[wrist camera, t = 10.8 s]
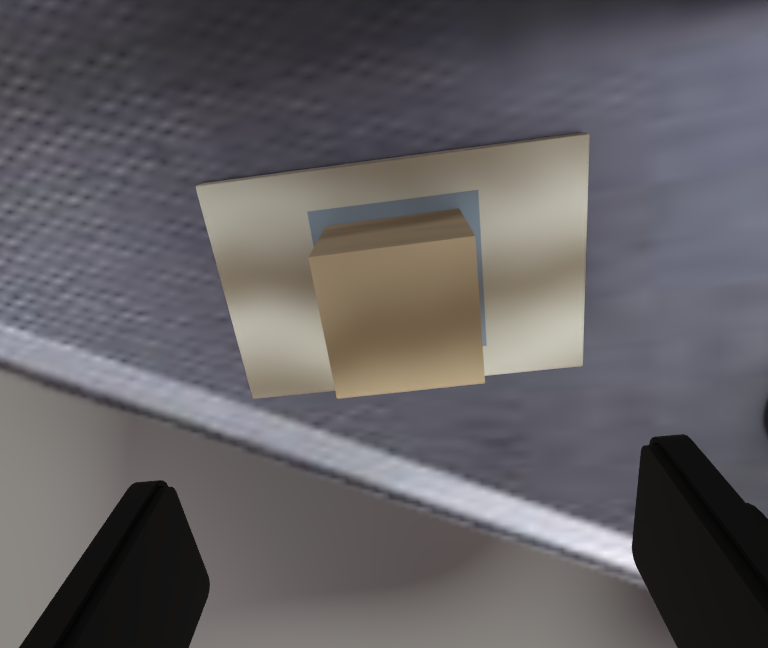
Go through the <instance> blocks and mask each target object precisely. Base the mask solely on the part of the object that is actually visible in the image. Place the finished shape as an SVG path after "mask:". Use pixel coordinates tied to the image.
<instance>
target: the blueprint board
mask: <svg viewBox="0 0 768 648" xmlns="http://www.w3.org/2000/svg"><path fill="white" fill-rule="evenodd" d="M589 136H590V134H587V133H575V134H567V135H560V136H552V137H545V138H537V139H530V140H522V141H515V142H507V143H500V144H492V145H485V146H477V147H470V148H462V149H455V150H447V151H440V152H432V153H425V154H417V155H410V156H402V157H395V158H387V159H380V160H372V161H365V162H357V163H350V164H342V165H335V166H327V167H320V168H312V169H305V170H297V171H290V172H282V173H275V174H267V175H260V176H252V177H245V178H237V179H230V180H222V181H215V182H207V183H202V184H200V185H197V186H195V187H196V191H197V195H198V198H199V202H200V206H201V209H202V213H203V217H204V220H205V224H206V228H207V231H208V235H209V239H210V242H211V246H212V250H213V253H214V257H215V261H216V264H217V268H218V272H219V275H220V279H221V283H222V287H223V290H224V294H225V298H226V301H227V305H228V309H229V312H230V316H231V320H232V323H233V327H234V331H235V334H236V338H237V342H238V345H239V349H240V353H241V356H242V360H243V364H244V367H245V371H246V375H247V378H248V382H249V386H250V389H251V393H252V397H253V399H256V398H266V397H276V396H286V395H296V394H306V393H316V392H326V391H335V386H334V382H333V377H332V372H331V367H330V362H329V357H328V352H327V347H326V342H325V337H324V332H323V328H322V323H321V318H320V313H319V308H318V303H317V298H316V293H315V288H314V283H313V279H312V274H311V269H310V264H309V259H308V257H309V255H310V253H311V252H312V250H313V248H314V246H315V245H316V243H317V241H318V239H319V237H320V236H321V234H322V232H323V230H324V229H325V227H326V226H330V225H337V224H345V223H352V222H360V221H368V220H375V219H383V218H390V217H398V216H405V215H413V214H420V213H428V212H435V211H443V210H450V209H458V208H459V209H460V210H461V212H462V214H463V216H464V217H465V219H466V221H467V222H468V224H469V226H470V228H471V229H472V231H473V233H474V235H475V240H476V255H477V270H478V285H479V300H480V314H481V329H482V344H483V359H484V374H485V376H486V375H496V374H506V373H516V372H526V371H536V370H546V369H556V368H566V367H576V366H583V334H584V301H585V268H586V235H587V202H588V169H589Z"/></svg>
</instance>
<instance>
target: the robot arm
mask: <svg viewBox="0 0 768 648" xmlns="http://www.w3.org/2000/svg"><path fill="white" fill-rule="evenodd" d="M632 553H633V557H634V561H635V564H636V566H637V569H638V570H639V572H640V574H641V576H642V578H643V580H644V582H645V584H646V586H647V588H648V590H649V592H650V594H651V596H652V598H653V600H654V602H655V604H656V606H657V608H658V610H659V612H660V614H661V616H662V618H663V620H664V622H665V624H666V626H667V628H668V629H669V632H670V634H671V636H672V637H673V640H674V642H675V643H676V646H677V647H678V648H768V519H767V518H766V517H765V516H764V514H763V513H762V512H761V511H759V510H758V509H757V508H756V507H755V506H753V505H751V504H749V503H745V502H744V501H743V499H742V498H741V497H740V496H739V495H738V494H737V492H736V491H735V490H734V489H733V488H732V487H731V485H730V484H729V483H728V482H727V481H726V480H725V478H724V477H723V476H722V475H721V474H720V472H719V471H718V470H717V469H716V468H715V467H714V465H713V464H712V463H711V462H710V461H709V460H708V458H707V457H706V456H705V455H704V454H703V453H702V451H701V450H700V449H699V448H698V447H697V446H696V444H695V443H694V442H693V441H692V440H691V439H690V438H689V437H688V436H687V435H684V434H682V435H670V436H659V437H653V438H652V439H651V440H650V444H649V445H645V446H643V447H642V449H641V456H640V467H639V477H638V488H637V498H636V509H635V519H634V530H633V541H632ZM209 588H210V582H209V577H208V574H207V571H206V568H205V566H204V563H203V561H202V558H201V555H200V553H199V550H198V548H197V545H196V542H195V540H194V537H193V534H192V532H191V529H190V527H189V524H188V522H187V519H186V516H185V514H184V511H183V508H182V506H181V503H180V500H179V498H178V495H177V493H176V491H175V489H174V488H173V487H168V485H167V483H166V482H164V481H161V480H160V481H148V482H137V483H134V484H132V485H131V486H130V487H129V488H128V489H127V491H126V492H125V494H124V496H123V497H122V498H121V500H120V501H119V503H118V504H117V506H116V507H115V508H114V510H113V512H112V513H111V514H110V516H109V517H108V519H107V520H106V522H105V523H104V525H103V526H102V527H101V529H100V530H99V532H98V533H97V535H96V536H95V538H94V539H93V541H92V542H91V544H90V545H89V547H88V548H87V549H86V551H85V552H84V554H83V555H82V557H81V558H80V560H79V561H78V563H77V564H76V565H75V567H74V568H73V570H72V572H71V573H70V574H69V576H68V577H67V579H66V580H65V582H64V583H63V584H62V586H61V587H60V589H59V590H58V592H57V593H56V595H55V596H54V598H53V599H52V600H51V602H50V603H49V605H48V606H47V608H46V609H45V611H44V612H43V614H42V615H41V617H40V618H39V619H38V621H37V622H36V624H35V625H34V627H33V628H32V630H31V631H30V633H29V634H28V636H27V637H26V638H25V640H24V641H23V643H22V644H21V646H20V647H19V648H189V645H190V643H191V640H192V637H193V635H194V632H195V629H196V627H197V624H198V621H199V619H200V616H201V613H202V611H203V608H204V606H205V603H206V600H207V598H208V594H209Z"/></svg>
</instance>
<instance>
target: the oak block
mask: <svg viewBox="0 0 768 648" xmlns="http://www.w3.org/2000/svg"><path fill="white" fill-rule="evenodd" d="M308 259H309V264H310V269H311V274H312V279H313V283H314V288H315V293H316V298H317V303H318V308H319V313H320V318H321V323H322V328H323V332H324V337H325V342H326V347H327V352H328V357H329V362H330V367H331V372H332V377H333V382H334V386H335V391H336V396H337V399H339V398H349V397H358V396H367V395H377V394H386V393H396V392H405V391H415V390H424V389H434V388H443V387H453V386H462V385H471V384H481V383H485V374H484V359H483V344H482V329H481V314H480V300H479V285H478V270H477V255H476V240H475V235H474V233H473V231H472V229H471V228H470V226H469V224H468V222H467V221H466V219H465V217H464V216H463V214H462V212H461V210H460V209H459V208H458V209H450V210H443V211H435V212H428V213H420V214H413V215H405V216H398V217H390V218H383V219H375V220H368V221H360V222H352V223H345V224H337V225H330V226H326V227H325V229H324V230H323V232H322V234H321V236H320V237H319V239H318V241H317V243H316V245H315V246H314V248H313V250H312V252H311V253H310V255H309V257H308Z"/></svg>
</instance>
